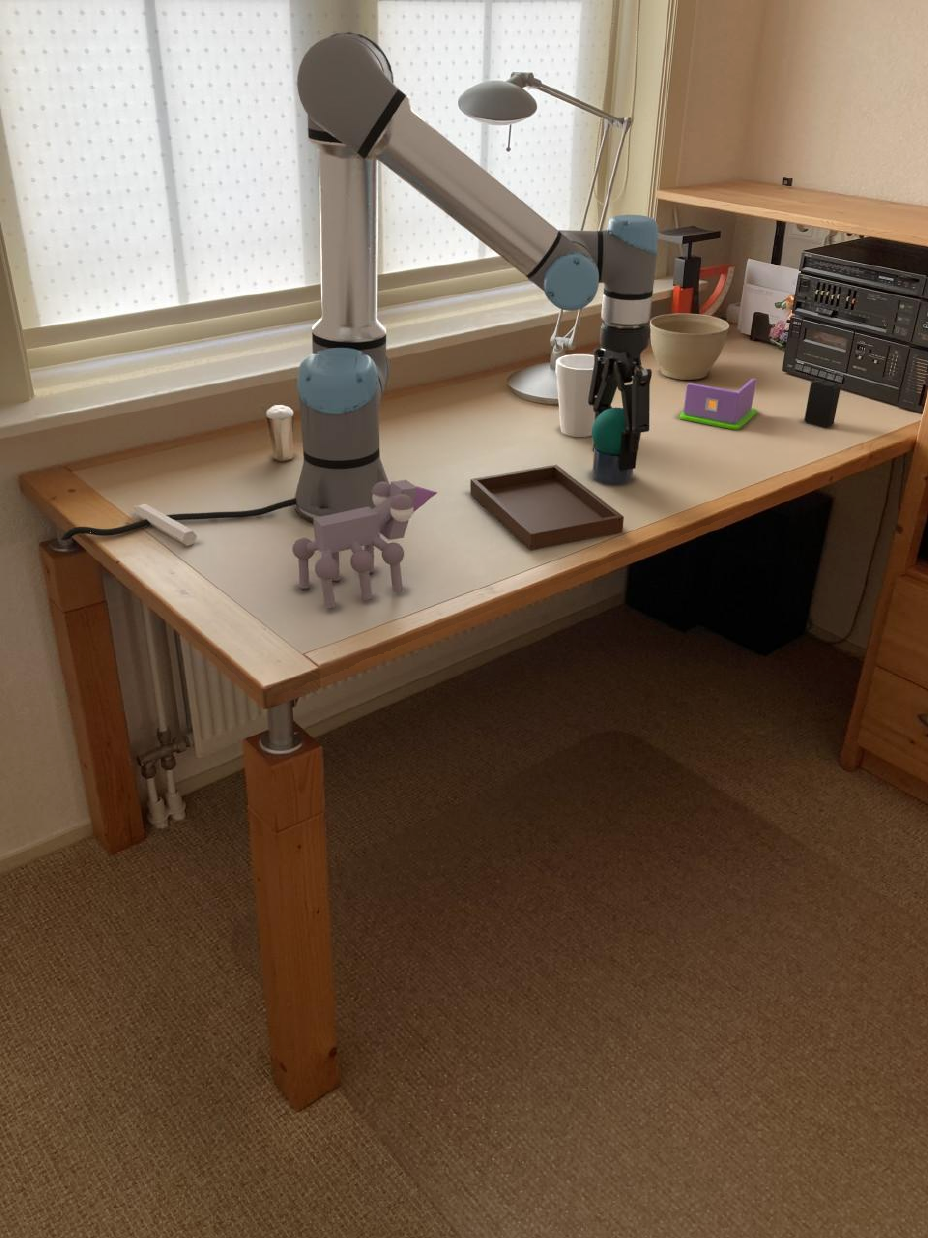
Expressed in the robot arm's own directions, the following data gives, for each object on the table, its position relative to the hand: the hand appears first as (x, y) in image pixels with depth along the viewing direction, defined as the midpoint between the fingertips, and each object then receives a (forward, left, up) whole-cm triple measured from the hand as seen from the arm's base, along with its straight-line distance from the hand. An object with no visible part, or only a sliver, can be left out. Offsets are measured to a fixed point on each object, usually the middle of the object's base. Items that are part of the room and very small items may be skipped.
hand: (613, 459), depth 176 cm
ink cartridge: (+49, +7, -3) cm, 50 cm away
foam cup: (+5, +21, -3) cm, 22 cm away
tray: (-17, -8, -3) cm, 19 cm away
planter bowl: (+42, +42, -3) cm, 59 cm away
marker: (-73, +9, -3) cm, 73 cm away
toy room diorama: (+34, +18, -3) cm, 39 cm away
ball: (0, 0, +5) cm, 5 cm away
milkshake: (-49, +29, -3) cm, 57 cm away
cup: (0, 0, -3) cm, 3 cm away
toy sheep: (-49, -19, -3) cm, 53 cm away
